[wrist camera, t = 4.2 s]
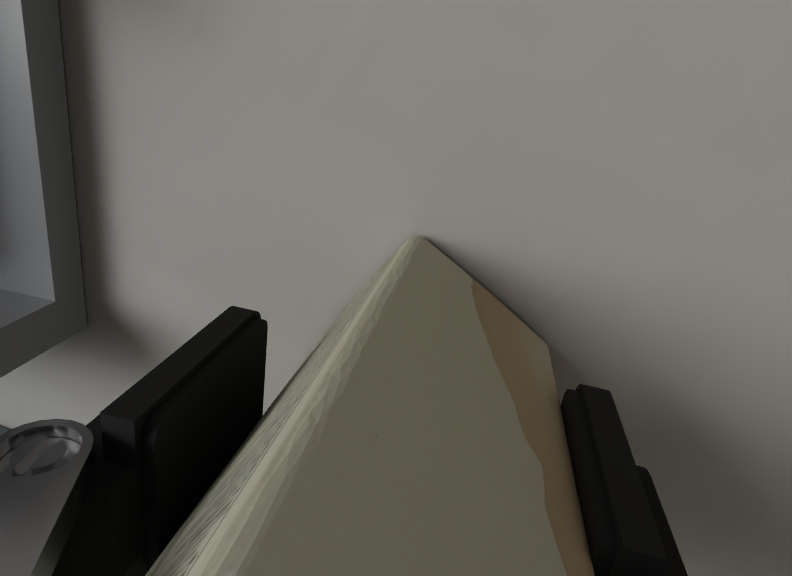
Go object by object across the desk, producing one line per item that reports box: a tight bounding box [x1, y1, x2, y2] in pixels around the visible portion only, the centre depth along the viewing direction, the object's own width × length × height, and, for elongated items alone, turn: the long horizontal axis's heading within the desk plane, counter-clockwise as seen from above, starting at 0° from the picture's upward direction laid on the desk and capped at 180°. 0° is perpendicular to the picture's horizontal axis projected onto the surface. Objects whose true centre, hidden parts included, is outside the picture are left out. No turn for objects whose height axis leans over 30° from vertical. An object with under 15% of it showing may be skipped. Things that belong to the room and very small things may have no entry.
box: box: [145, 235, 595, 576], centre depth 8 cm, size 5×4×11 cm
